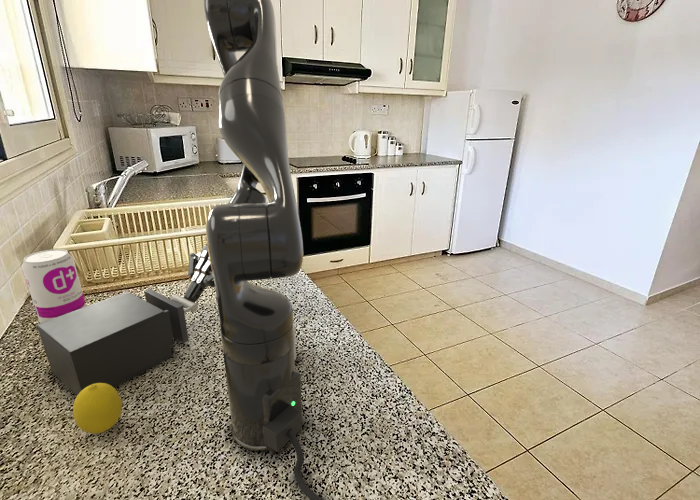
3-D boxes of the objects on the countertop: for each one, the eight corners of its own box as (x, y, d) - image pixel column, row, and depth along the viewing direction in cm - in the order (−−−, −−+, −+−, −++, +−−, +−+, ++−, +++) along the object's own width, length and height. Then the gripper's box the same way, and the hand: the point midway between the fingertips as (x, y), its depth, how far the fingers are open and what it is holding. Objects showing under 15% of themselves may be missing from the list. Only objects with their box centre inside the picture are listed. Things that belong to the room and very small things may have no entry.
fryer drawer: (175, 313, 81) (169, 281, 79) (208, 330, 76) (203, 296, 73) (84, 354, 68) (74, 317, 65) (116, 379, 62) (105, 339, 59)
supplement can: (95, 317, 81) (79, 253, 75) (51, 335, 74) (29, 267, 69) (77, 306, 85) (60, 245, 79) (34, 323, 78) (12, 257, 73)
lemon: (105, 449, 50) (92, 403, 47) (71, 442, 51) (55, 396, 48) (135, 418, 55) (124, 375, 53) (103, 412, 56) (91, 369, 54)
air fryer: (136, 333, 76) (127, 291, 72) (172, 356, 69) (164, 310, 66) (51, 372, 64) (36, 324, 61) (85, 403, 58) (69, 352, 54)
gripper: (201, 215, 82) (156, 285, 77) (241, 226, 76) (195, 303, 70) (223, 232, 88) (183, 297, 83) (262, 244, 82) (221, 316, 76)
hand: (189, 300), depth 77 cm, fingers closed
